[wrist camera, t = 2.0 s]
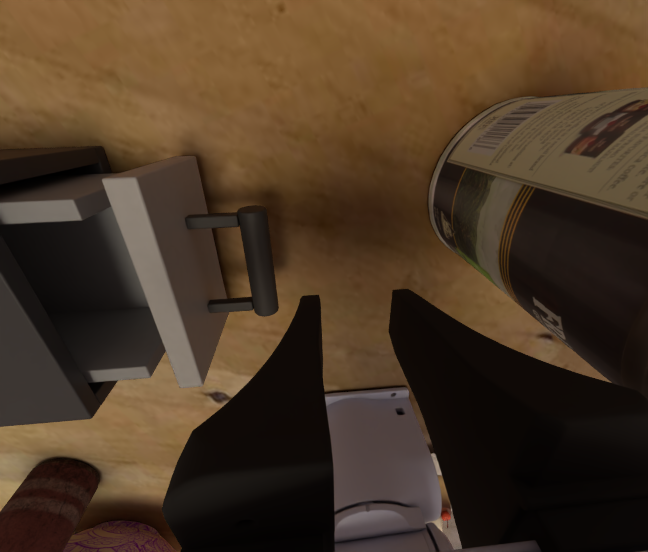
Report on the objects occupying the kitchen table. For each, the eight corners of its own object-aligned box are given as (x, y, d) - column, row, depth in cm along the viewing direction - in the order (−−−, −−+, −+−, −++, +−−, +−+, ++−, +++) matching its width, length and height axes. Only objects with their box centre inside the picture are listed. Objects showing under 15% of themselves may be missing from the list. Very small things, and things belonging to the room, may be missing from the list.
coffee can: (510, 276, 23) (767, 467, 10) (398, 227, 20) (562, 403, 8) (619, 143, 18) (1273, 193, 6) (496, 58, 16) (1216, -161, 3)
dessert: (494, 471, 36) (520, 517, 32) (426, 515, 40) (441, 561, 36) (428, 443, 32) (448, 491, 28) (360, 495, 36) (368, 544, 32)
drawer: (267, 152, 16) (249, 172, 10) (284, 307, 21) (279, 380, 15) (-47, 164, 15) (-266, 193, 9) (47, 323, 20) (-57, 408, 14)
